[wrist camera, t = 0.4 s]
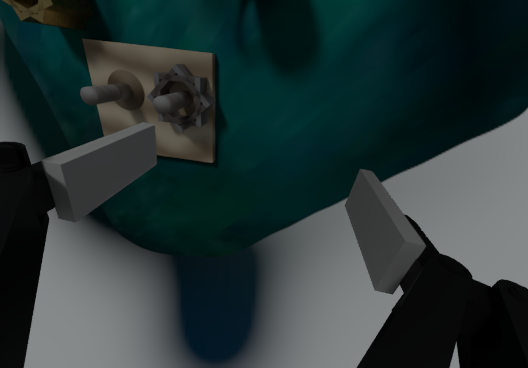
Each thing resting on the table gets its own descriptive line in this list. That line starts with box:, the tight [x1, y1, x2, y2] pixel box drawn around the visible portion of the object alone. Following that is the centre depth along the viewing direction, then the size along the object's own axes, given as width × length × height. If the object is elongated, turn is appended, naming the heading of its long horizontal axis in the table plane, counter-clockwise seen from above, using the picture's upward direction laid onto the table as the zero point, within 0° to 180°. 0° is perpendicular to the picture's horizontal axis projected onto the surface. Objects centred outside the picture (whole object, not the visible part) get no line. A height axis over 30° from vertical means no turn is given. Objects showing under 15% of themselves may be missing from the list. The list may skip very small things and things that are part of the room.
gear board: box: [81, 39, 216, 163], centre depth 37 cm, size 18×22×10 cm
